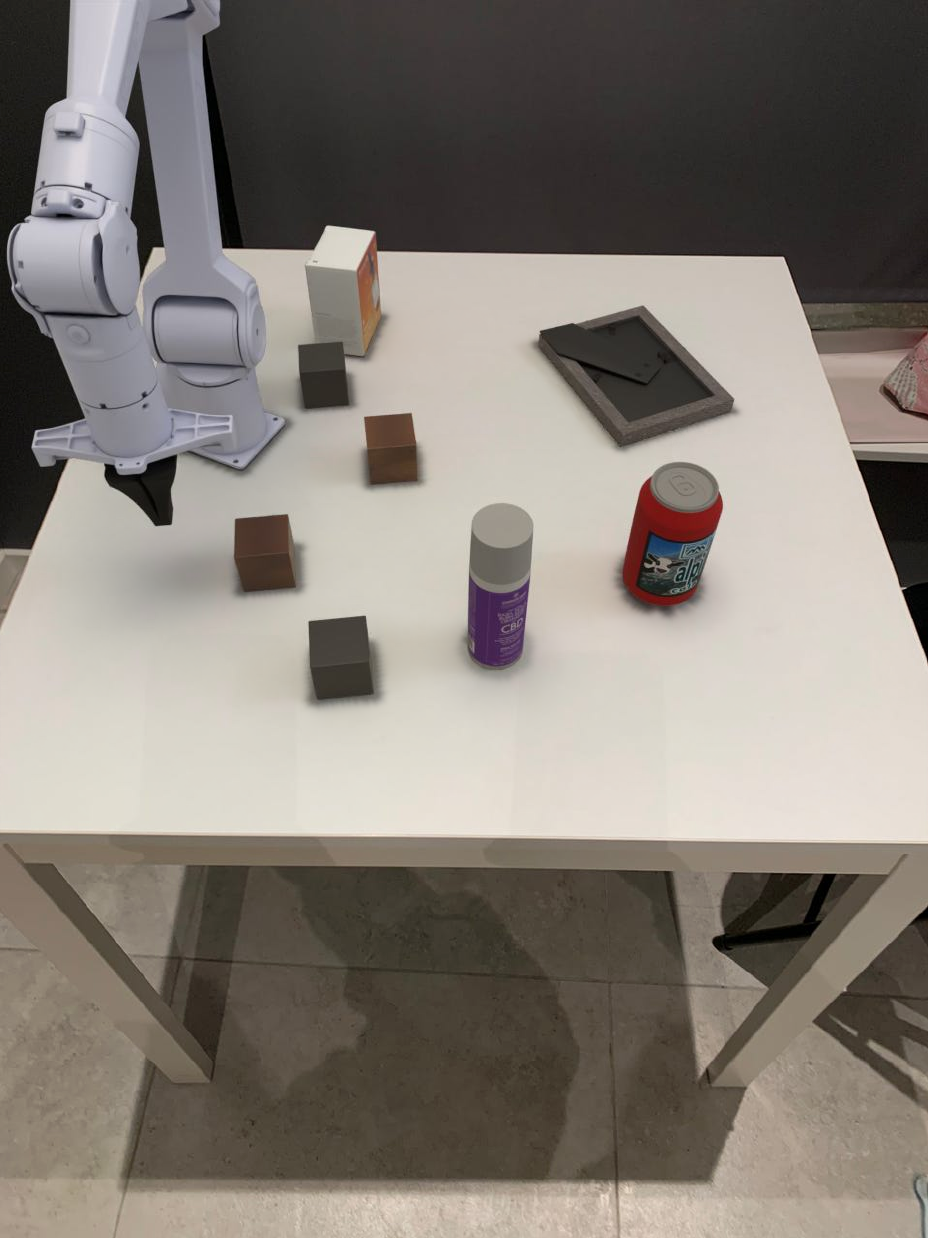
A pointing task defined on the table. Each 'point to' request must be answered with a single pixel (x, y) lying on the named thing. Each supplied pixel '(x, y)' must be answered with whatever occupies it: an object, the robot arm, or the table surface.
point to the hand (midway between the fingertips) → (164, 517)
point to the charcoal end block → (323, 374)
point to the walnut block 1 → (265, 552)
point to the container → (498, 584)
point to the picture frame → (634, 374)
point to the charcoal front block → (340, 657)
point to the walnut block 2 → (391, 448)
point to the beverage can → (672, 533)
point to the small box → (344, 288)
